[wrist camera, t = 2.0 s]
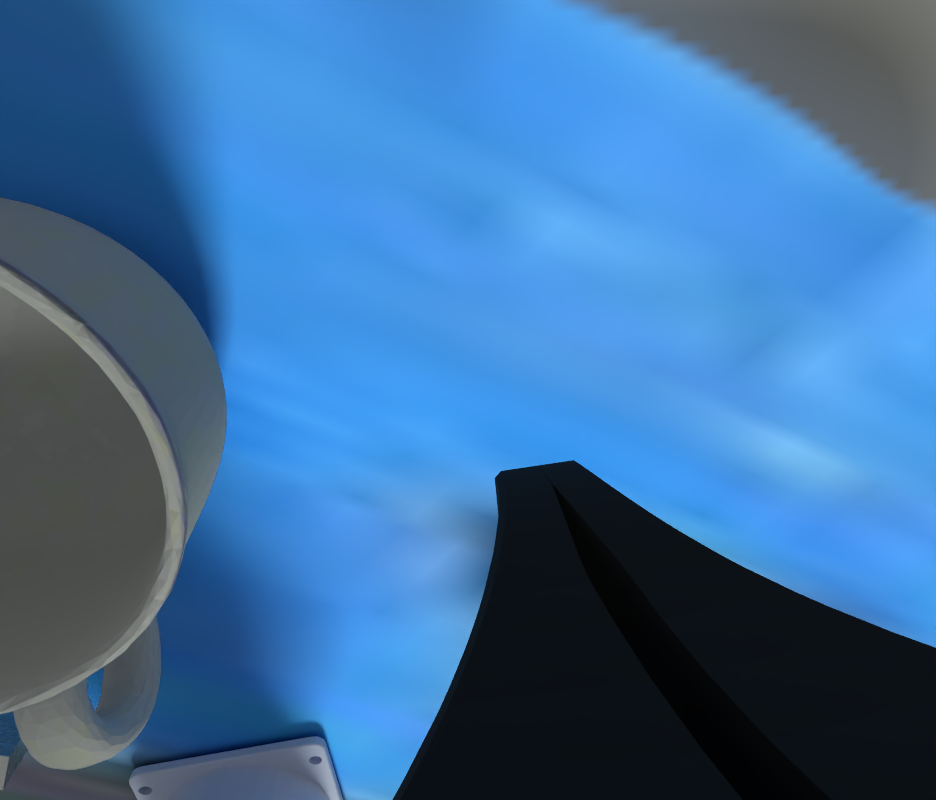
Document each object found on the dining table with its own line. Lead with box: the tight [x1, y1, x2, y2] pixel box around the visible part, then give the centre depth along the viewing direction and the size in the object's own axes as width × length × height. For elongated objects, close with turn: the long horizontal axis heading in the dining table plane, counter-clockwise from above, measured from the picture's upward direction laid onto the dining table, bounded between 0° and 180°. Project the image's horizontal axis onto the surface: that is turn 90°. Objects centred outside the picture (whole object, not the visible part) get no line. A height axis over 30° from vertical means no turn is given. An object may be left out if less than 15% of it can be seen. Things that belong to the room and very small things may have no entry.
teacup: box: [0, 197, 226, 770], centre depth 14 cm, size 14×11×8 cm
